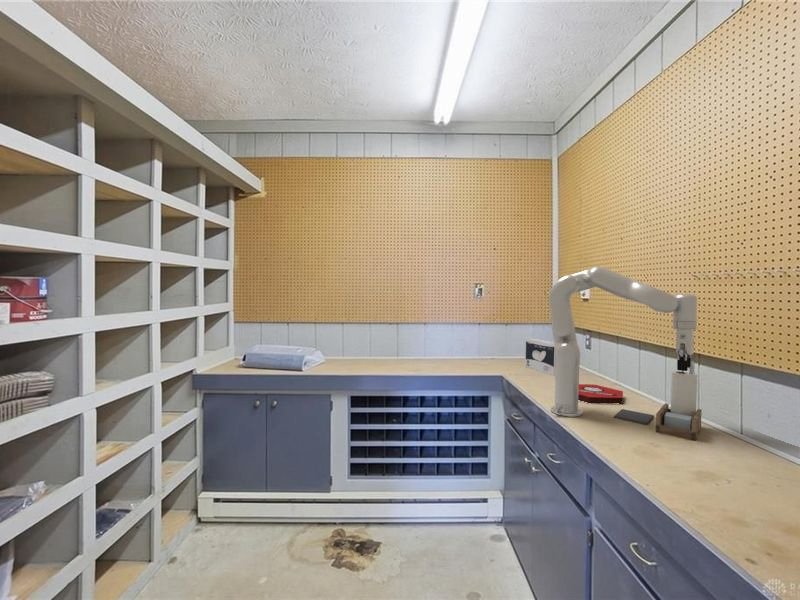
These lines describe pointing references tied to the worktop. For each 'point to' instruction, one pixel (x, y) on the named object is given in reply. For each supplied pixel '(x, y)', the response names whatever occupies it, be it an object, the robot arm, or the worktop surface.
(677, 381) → the paper towel roll
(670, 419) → the offcut block
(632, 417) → the mat
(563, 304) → the robot arm
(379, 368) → the worktop surface
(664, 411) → the rack
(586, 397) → the plaque
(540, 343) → the packaging
